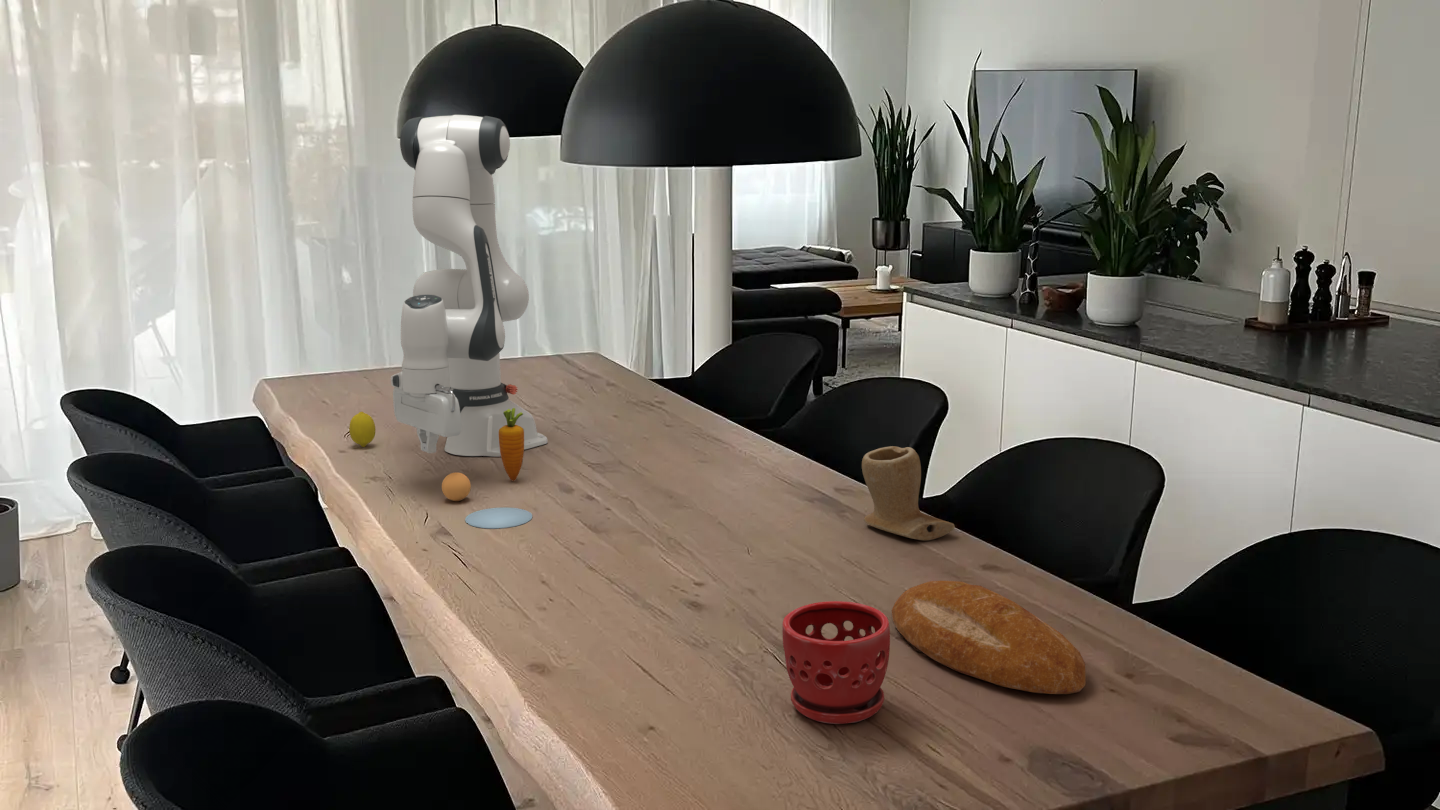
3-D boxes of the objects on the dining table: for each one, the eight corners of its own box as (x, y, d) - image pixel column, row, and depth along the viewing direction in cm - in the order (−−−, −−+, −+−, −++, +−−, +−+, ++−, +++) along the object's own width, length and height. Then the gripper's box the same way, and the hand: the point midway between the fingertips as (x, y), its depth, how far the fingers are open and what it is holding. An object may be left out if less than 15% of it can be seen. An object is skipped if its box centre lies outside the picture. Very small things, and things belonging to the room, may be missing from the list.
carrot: (512, 476, 271) (509, 403, 267) (531, 480, 268) (528, 407, 264) (495, 482, 267) (492, 408, 263) (513, 486, 264) (510, 411, 260)
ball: (462, 494, 258) (460, 467, 257) (476, 500, 254) (475, 473, 253) (437, 499, 255) (435, 472, 254) (451, 506, 251) (450, 478, 250)
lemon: (369, 450, 291) (367, 415, 289) (346, 449, 292) (343, 413, 290) (380, 444, 296) (378, 409, 294) (357, 443, 297) (355, 408, 296)
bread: (1019, 718, 165) (1022, 651, 163) (855, 623, 195) (856, 565, 193) (1124, 688, 173) (1128, 623, 171) (951, 601, 203) (953, 545, 201)
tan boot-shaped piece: (846, 527, 237) (848, 445, 234) (897, 515, 244) (899, 435, 241) (904, 550, 225) (906, 464, 222) (956, 537, 232) (959, 453, 228)
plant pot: (795, 681, 175) (796, 595, 172) (896, 693, 171) (898, 605, 169) (770, 725, 163) (770, 633, 160) (877, 739, 159) (879, 645, 156)
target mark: (509, 504, 252) (509, 503, 252) (545, 519, 243) (545, 518, 243) (453, 517, 244) (452, 516, 244) (487, 533, 235) (487, 532, 235)
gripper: (468, 386, 251) (470, 459, 253) (415, 372, 266) (418, 440, 269) (438, 390, 247) (441, 464, 249) (386, 375, 262) (389, 445, 265)
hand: (428, 451), depth 259 cm, fingers closed
